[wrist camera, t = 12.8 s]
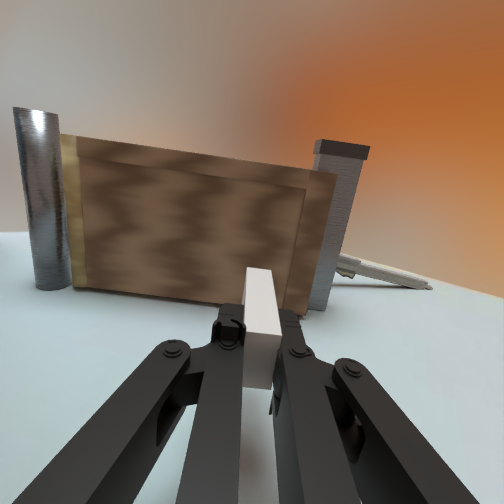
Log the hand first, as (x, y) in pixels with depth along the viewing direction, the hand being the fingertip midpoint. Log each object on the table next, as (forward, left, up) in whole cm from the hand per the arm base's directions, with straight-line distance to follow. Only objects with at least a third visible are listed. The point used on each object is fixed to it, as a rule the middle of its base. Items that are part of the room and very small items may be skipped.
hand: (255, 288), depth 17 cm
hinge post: (-20, +10, -7) cm, 23 cm away
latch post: (+7, +12, -7) cm, 16 cm away
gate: (-6, +10, -7) cm, 13 cm away
